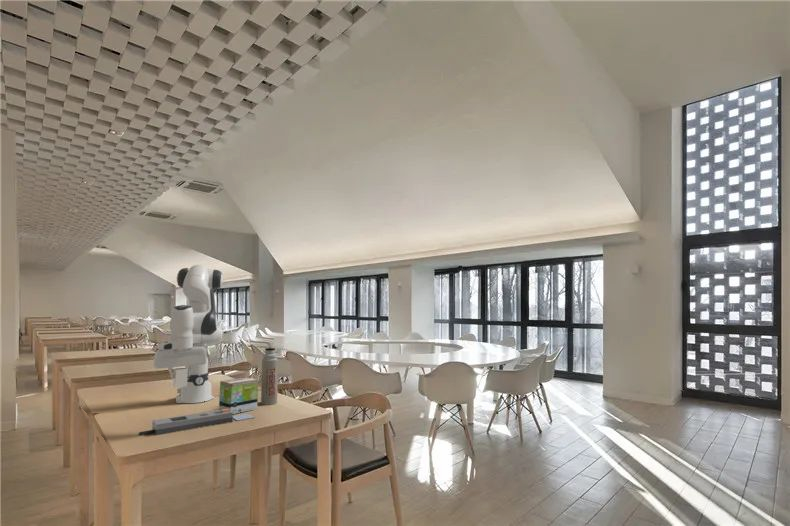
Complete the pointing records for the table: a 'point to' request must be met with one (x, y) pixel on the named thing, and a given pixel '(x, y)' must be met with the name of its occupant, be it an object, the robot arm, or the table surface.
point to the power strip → (189, 421)
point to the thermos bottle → (269, 377)
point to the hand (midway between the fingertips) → (180, 377)
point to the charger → (180, 377)
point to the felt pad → (243, 417)
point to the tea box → (238, 395)
